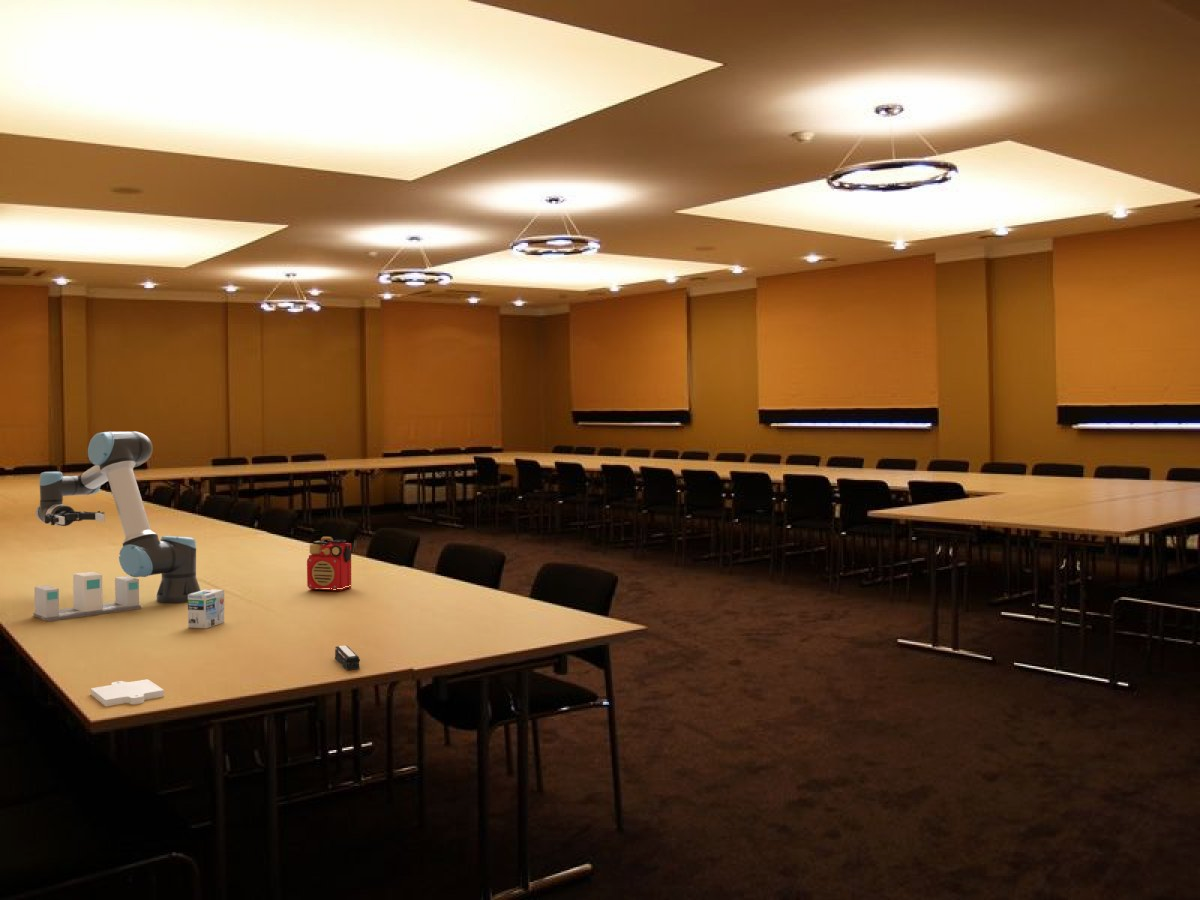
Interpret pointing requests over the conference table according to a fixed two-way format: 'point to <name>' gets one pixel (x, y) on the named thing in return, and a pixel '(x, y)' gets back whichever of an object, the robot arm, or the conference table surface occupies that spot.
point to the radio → (329, 564)
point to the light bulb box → (205, 608)
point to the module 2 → (127, 591)
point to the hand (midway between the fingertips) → (83, 519)
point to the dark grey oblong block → (347, 658)
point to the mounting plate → (127, 692)
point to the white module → (87, 591)
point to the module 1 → (46, 601)
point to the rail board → (76, 613)
